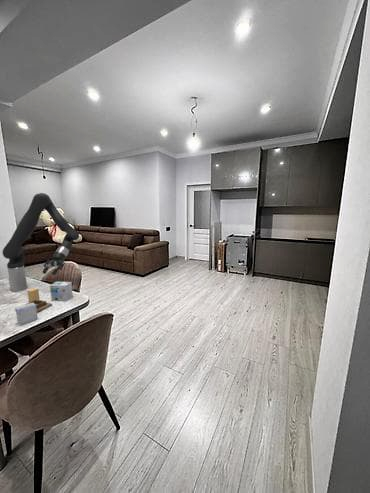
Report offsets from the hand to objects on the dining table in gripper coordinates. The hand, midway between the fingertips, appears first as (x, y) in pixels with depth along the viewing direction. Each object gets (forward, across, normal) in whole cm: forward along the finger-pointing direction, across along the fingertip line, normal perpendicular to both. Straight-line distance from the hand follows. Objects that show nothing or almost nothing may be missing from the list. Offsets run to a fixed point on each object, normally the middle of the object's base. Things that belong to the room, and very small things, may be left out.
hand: (48, 273), depth 136 cm
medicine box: (+32, +19, -10) cm, 38 cm away
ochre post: (+19, 0, +2) cm, 19 cm away
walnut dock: (+24, +10, -3) cm, 26 cm away
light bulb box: (+13, +14, +8) cm, 21 cm away
